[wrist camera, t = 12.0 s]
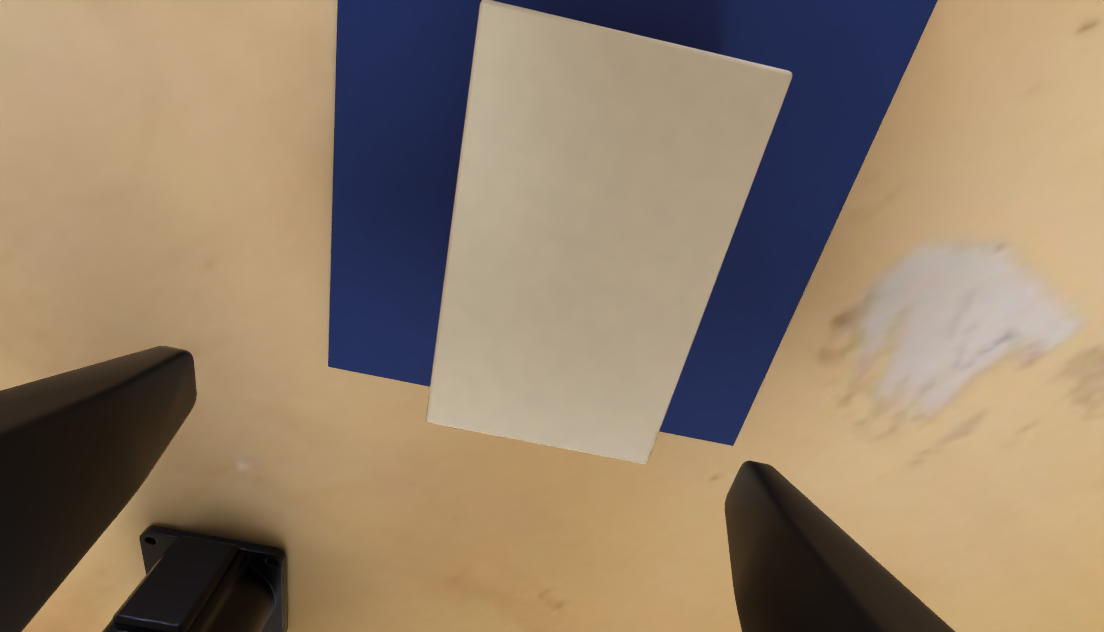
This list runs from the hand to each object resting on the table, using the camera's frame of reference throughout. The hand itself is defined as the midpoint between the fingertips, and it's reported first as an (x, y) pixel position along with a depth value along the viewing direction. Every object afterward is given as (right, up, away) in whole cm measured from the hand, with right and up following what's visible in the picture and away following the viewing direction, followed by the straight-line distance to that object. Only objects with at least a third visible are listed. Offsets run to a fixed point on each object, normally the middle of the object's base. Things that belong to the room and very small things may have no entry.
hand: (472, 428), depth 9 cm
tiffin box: (+2, +5, +9) cm, 10 cm away
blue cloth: (+2, +5, +9) cm, 11 cm away
